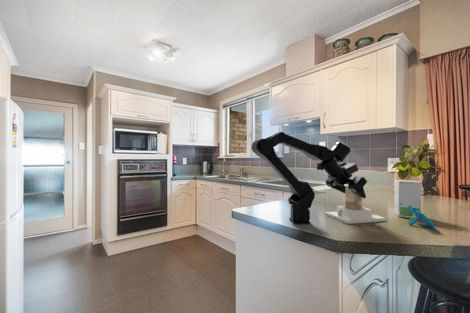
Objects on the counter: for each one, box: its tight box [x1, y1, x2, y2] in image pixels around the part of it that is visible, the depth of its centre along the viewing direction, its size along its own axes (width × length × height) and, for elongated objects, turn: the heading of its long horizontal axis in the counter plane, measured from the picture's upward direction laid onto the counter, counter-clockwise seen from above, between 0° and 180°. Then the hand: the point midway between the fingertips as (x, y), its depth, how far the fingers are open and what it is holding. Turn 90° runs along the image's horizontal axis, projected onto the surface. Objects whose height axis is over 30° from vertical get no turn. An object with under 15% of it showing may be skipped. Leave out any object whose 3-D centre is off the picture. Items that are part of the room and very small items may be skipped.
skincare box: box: [393, 179, 422, 219], centre depth 99 cm, size 8×7×16 cm
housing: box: [324, 205, 387, 225], centre depth 96 cm, size 18×14×4 cm
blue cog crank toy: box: [407, 205, 436, 229], centre depth 85 cm, size 11×6×10 cm
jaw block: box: [344, 185, 363, 210], centre depth 96 cm, size 4×4×12 cm
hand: (356, 195), depth 96 cm, fingers open, 9 cm apart
